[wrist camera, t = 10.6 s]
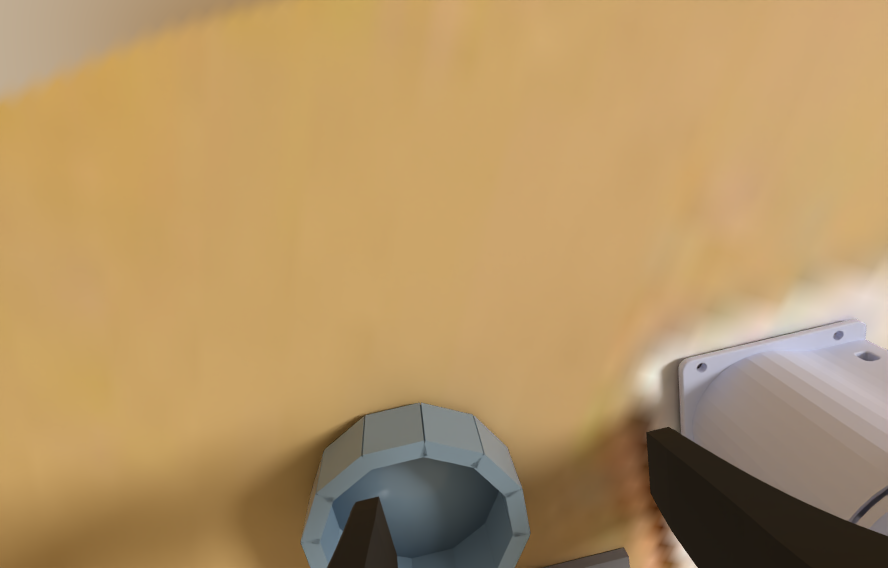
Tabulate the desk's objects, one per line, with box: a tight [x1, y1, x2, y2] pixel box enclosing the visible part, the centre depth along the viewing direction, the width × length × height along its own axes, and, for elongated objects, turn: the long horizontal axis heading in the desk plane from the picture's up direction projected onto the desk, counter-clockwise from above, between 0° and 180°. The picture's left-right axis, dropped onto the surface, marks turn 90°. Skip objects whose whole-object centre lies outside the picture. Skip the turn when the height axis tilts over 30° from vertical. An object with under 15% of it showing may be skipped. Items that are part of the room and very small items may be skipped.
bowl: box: [301, 403, 530, 568], centre depth 24 cm, size 10×10×3 cm
